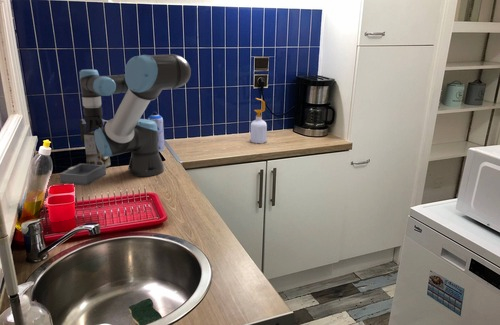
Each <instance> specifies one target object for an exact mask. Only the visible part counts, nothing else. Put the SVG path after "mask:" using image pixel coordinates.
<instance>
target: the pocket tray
mask: <svg viewBox="0 0 500 325" xmlns="http://www.w3.org/2000/svg"><path fill="white" fill-rule="evenodd" d="M106 168H107V167H106ZM106 168H105V165H94V164H87V163H82V162H81V163H78V164H77V165H76V164H75V165H74V166H70V167H68V168H67V169H66V170H63V171H62V172H60V173H59V181H60V183H61V182H62V183H61V184H66V183H74V184H73V185H78V186H79V185H80V186H89V185H91V184H92V183H94V182H95V181H97V180H100V179H101V178H102V177H104V176H106V175H107V169H106Z"/></svg>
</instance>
